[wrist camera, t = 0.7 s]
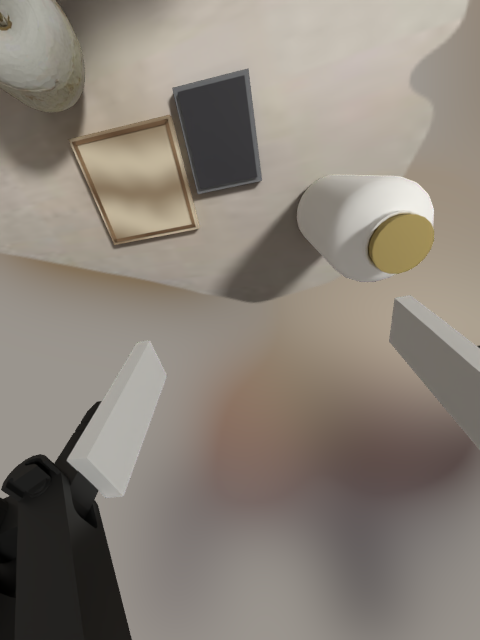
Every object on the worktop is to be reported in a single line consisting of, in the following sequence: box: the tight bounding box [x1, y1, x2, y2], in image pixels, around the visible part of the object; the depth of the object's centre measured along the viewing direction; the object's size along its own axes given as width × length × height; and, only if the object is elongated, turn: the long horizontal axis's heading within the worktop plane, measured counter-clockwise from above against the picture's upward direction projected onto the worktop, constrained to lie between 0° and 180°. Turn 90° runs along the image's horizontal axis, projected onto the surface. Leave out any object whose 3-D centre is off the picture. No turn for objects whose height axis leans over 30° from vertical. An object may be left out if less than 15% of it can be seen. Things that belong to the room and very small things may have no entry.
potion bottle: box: [297, 175, 434, 282], centre depth 25 cm, size 8×8×18 cm
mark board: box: [68, 115, 200, 245], centre depth 31 cm, size 12×12×1 cm
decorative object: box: [0, 0, 85, 112], centre depth 22 cm, size 9×9×10 cm
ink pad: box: [172, 69, 262, 194], centre depth 28 cm, size 10×8×2 cm
